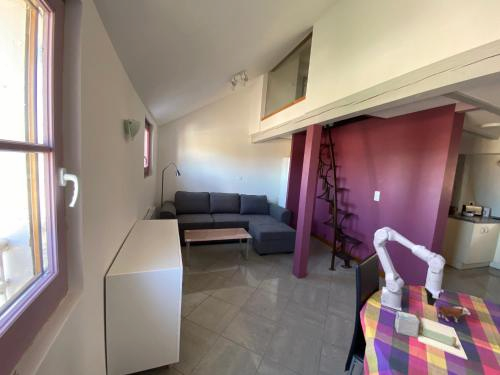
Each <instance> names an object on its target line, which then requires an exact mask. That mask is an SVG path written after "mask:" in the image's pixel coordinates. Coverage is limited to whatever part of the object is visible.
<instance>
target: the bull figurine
mask: <svg viewBox="0 0 500 375" xmlns="http://www.w3.org/2000/svg"><path fill="white" fill-rule="evenodd" d="M438 310H439V311H438V312H437V314H438V315H437V317H439V318H440V319H441V318H442V319H445V321H446V322H450V320H449V319H448V317H453V319H454V321H455V322H456V323H457V324H458V323H459V322H458V320H459V318H460V317H461V316H463V315H468V316H471V312H470V311H469V309H467V307H465V306H462V307H461V306H447V305H440V306H438Z"/></svg>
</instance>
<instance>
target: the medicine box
mask: <svg viewBox="0 0 500 375" xmlns="http://www.w3.org/2000/svg"><path fill="white" fill-rule="evenodd" d="M418 327H419V320H418V319H417V317H416V315H415V314H412V313H409V312H404V311H399V310H396V312H395V321H394V328H395V331H396V333H397V334H400V335H404V336H409V337H412V338H416V339H418V337H417V334H418Z"/></svg>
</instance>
